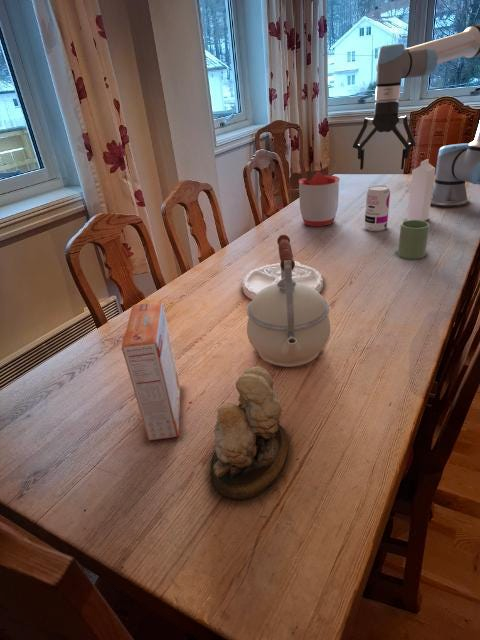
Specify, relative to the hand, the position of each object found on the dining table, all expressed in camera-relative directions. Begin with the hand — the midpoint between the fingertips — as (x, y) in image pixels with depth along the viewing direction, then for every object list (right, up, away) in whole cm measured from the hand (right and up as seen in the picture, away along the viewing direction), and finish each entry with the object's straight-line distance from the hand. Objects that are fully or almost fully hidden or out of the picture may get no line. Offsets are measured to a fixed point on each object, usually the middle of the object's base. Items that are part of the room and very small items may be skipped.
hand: (381, 168), depth 150 cm
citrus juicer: (-18, -13, +24) cm, 33 cm away
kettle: (-38, -61, -53) cm, 89 cm away
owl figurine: (-48, -76, -78) cm, 119 cm away
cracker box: (-64, -71, -67) cm, 117 cm away
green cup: (+6, -32, -12) cm, 34 cm away
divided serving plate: (-36, -42, -22) cm, 60 cm away
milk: (+19, -14, +17) cm, 29 cm away
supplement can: (+2, -18, +12) cm, 22 cm away
